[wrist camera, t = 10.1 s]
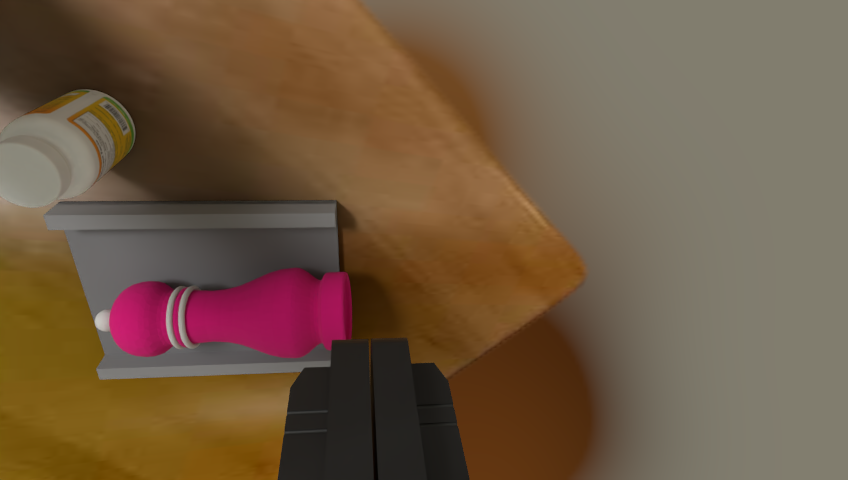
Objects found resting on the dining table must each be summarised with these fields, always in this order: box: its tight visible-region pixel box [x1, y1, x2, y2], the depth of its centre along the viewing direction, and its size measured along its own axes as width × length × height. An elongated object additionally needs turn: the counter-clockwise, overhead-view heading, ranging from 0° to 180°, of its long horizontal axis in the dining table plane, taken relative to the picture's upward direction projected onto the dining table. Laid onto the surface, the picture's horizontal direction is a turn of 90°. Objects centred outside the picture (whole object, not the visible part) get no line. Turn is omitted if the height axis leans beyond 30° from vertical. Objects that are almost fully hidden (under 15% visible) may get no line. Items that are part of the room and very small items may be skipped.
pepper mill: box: [95, 268, 352, 358], centre depth 42 cm, size 7×7×20 cm
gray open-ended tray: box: [43, 200, 340, 379], centre depth 44 cm, size 21×16×2 cm
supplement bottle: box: [0, 89, 135, 208], centre depth 34 cm, size 5×5×10 cm
